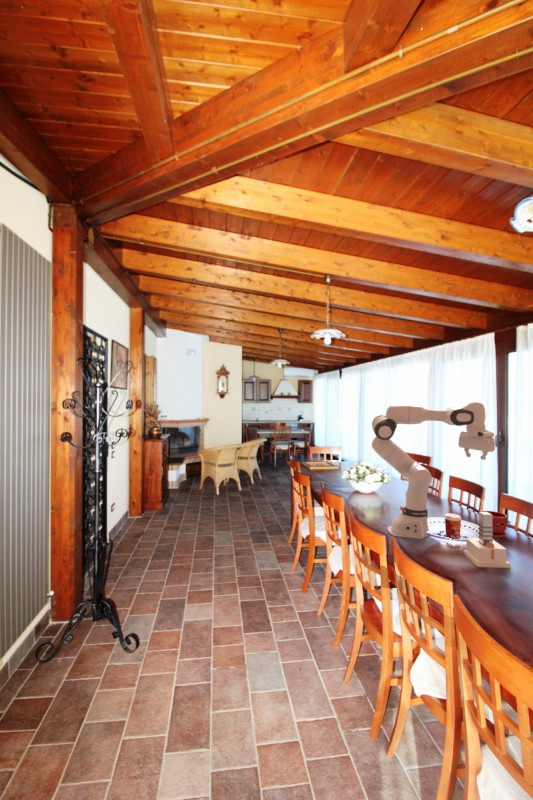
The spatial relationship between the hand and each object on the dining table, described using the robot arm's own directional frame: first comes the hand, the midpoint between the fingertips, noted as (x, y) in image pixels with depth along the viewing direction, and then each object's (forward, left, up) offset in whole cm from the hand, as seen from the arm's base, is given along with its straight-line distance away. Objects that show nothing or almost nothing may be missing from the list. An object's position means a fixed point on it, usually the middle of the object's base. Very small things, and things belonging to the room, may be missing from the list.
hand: (475, 458), depth 195 cm
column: (-7, -25, -44) cm, 51 cm away
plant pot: (+14, +9, -45) cm, 48 cm away
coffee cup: (-14, -6, -45) cm, 47 cm away
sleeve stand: (-7, -25, -44) cm, 51 cm away
